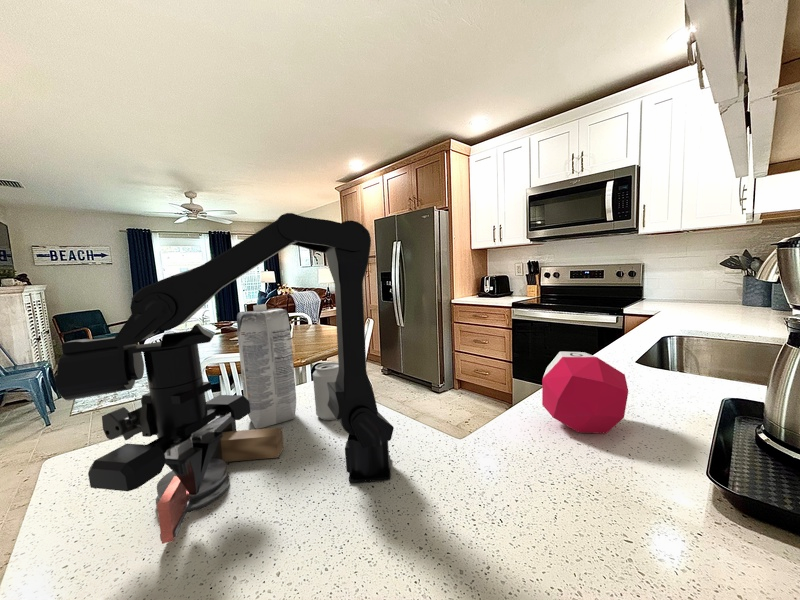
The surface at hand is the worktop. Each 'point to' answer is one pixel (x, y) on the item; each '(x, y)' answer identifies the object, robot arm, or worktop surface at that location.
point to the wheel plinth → (207, 497)
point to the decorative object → (584, 392)
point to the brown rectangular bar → (252, 444)
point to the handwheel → (184, 497)
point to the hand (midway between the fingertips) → (193, 494)
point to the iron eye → (223, 426)
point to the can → (324, 388)
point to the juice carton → (267, 365)
